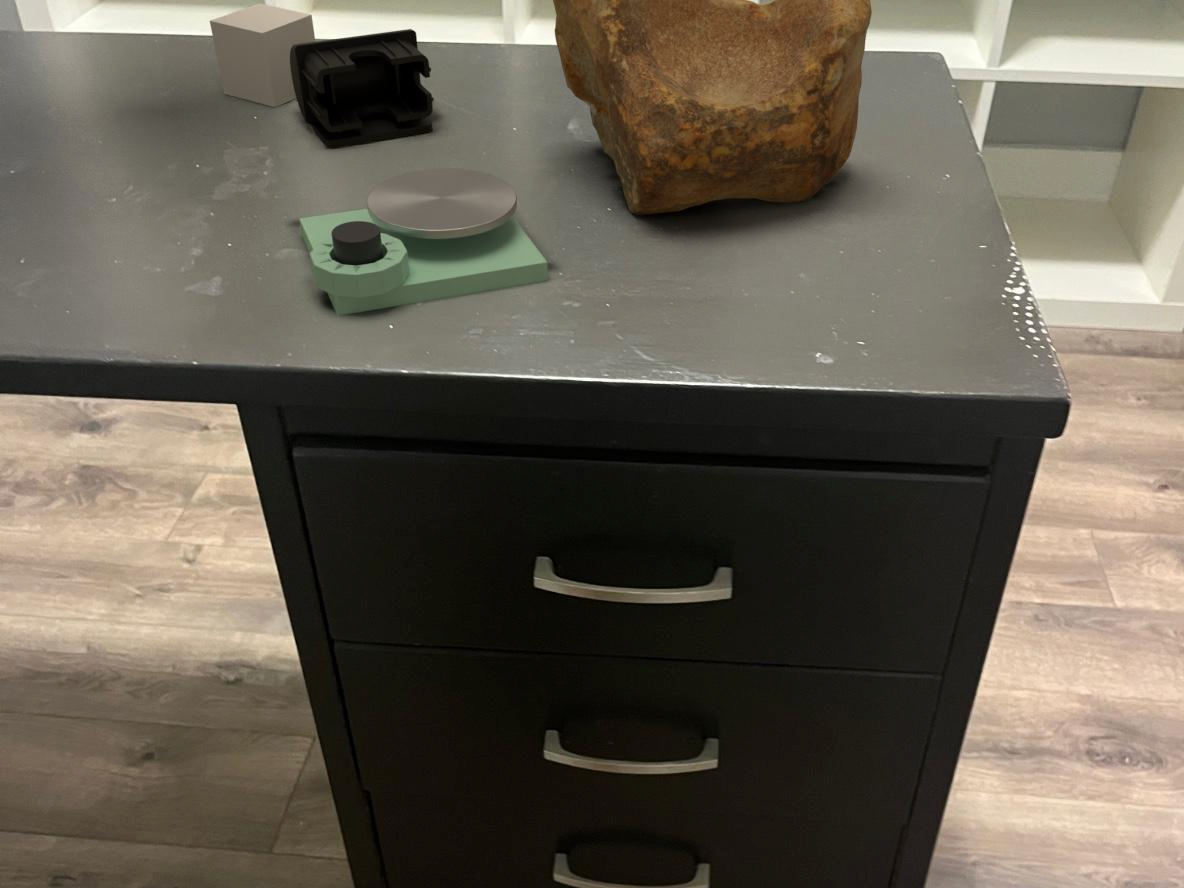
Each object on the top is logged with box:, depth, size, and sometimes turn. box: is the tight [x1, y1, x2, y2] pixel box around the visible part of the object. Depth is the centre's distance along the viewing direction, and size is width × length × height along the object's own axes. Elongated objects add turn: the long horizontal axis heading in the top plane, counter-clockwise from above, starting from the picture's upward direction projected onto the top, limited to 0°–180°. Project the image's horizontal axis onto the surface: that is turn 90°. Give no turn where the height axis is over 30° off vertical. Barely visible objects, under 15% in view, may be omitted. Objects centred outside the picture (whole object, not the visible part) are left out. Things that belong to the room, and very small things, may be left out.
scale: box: [299, 208, 549, 317], centre depth 79 cm, size 15×13×3 cm
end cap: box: [290, 28, 435, 149], centre depth 95 cm, size 10×7×7 cm
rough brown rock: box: [552, 0, 873, 216], centre depth 84 cm, size 23×17×15 cm
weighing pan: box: [366, 167, 518, 239], centre depth 79 cm, size 10×10×1 cm
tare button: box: [331, 221, 383, 266], centre depth 74 cm, size 3×3×2 cm
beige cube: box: [209, 2, 316, 108], centre depth 102 cm, size 6×6×6 cm
